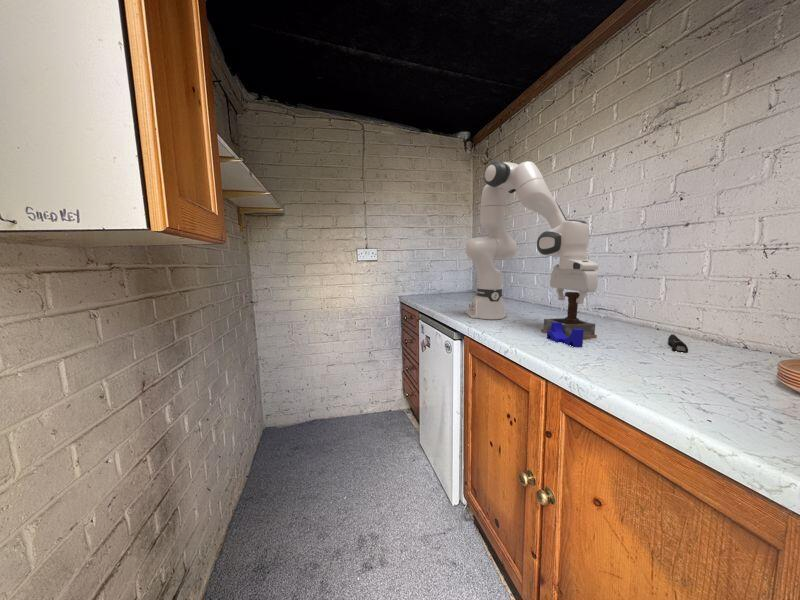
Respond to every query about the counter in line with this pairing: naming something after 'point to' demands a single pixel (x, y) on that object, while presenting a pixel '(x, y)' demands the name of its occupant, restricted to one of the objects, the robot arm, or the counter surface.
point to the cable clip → (559, 336)
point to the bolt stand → (572, 327)
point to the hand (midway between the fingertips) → (570, 301)
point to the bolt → (572, 308)
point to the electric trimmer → (677, 344)
